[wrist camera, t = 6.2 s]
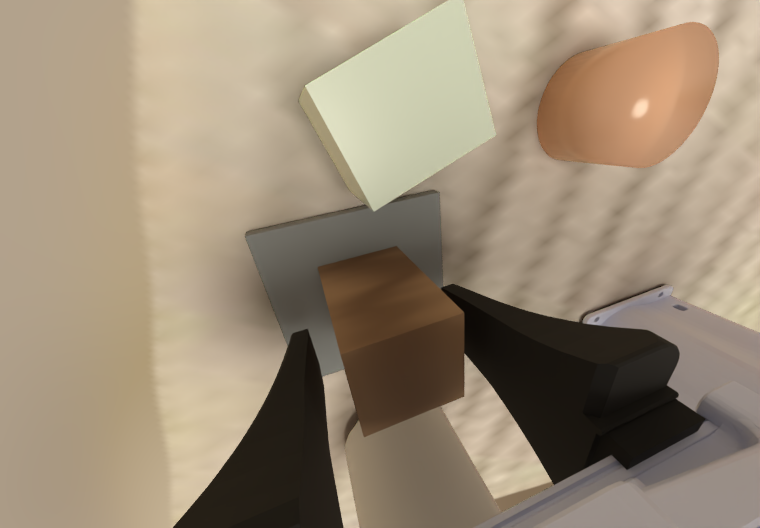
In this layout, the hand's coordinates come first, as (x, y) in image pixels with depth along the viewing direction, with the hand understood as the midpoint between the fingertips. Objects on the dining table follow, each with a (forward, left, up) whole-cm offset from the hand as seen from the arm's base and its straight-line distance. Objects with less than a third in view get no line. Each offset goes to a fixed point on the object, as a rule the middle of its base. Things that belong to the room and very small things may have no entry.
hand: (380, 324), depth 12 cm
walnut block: (0, 0, -3) cm, 3 cm away
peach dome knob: (-13, -7, -3) cm, 15 cm away
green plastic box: (-2, -8, -3) cm, 9 cm away
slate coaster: (0, 0, -3) cm, 3 cm away
